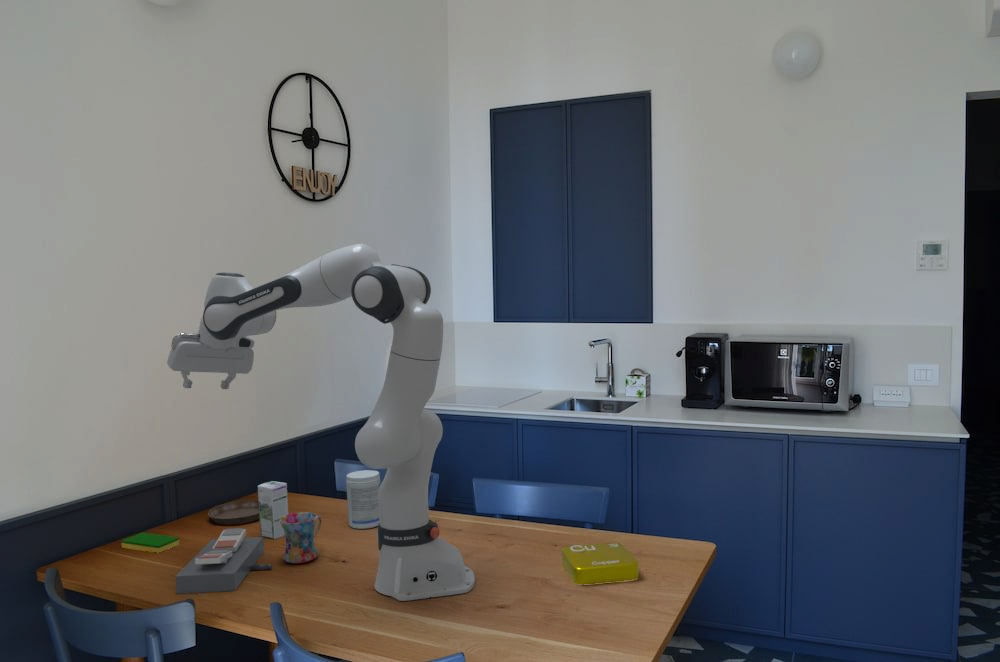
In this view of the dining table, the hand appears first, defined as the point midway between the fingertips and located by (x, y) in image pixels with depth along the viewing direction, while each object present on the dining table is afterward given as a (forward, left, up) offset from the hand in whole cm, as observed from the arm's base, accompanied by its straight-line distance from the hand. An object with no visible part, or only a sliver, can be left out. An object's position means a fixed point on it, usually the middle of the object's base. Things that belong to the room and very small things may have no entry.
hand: (205, 387), depth 188 cm
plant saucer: (+4, -36, -44) cm, 57 cm away
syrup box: (-11, -17, -44) cm, 48 cm away
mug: (-23, +2, -44) cm, 49 cm away
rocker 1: (-5, +3, -39) cm, 39 cm away
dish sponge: (+21, -13, -44) cm, 51 cm away
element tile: (-94, +21, -44) cm, 106 cm away
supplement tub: (-35, -23, -44) cm, 61 cm away
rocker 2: (-5, +15, -39) cm, 42 cm away
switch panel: (-7, +9, -44) cm, 45 cm away
